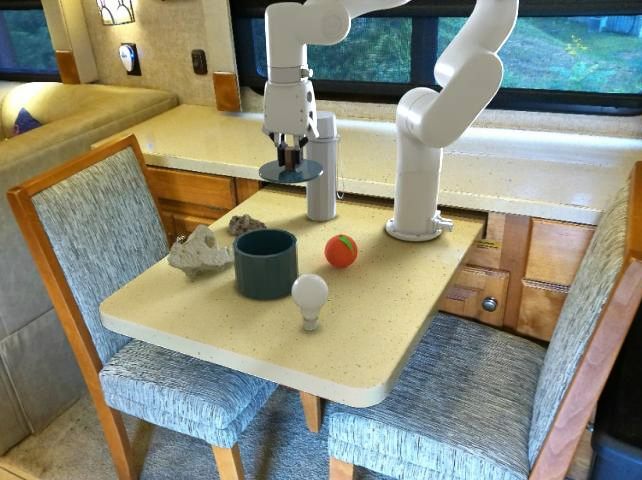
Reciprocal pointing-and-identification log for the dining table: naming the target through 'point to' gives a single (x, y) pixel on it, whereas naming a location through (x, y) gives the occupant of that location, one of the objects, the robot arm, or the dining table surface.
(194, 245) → the white coral rock
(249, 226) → the mineral rock
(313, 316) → the lightbulb
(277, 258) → the jar
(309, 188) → the water bottle
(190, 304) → the dining table surface
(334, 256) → the clementine
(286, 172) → the jar lid
